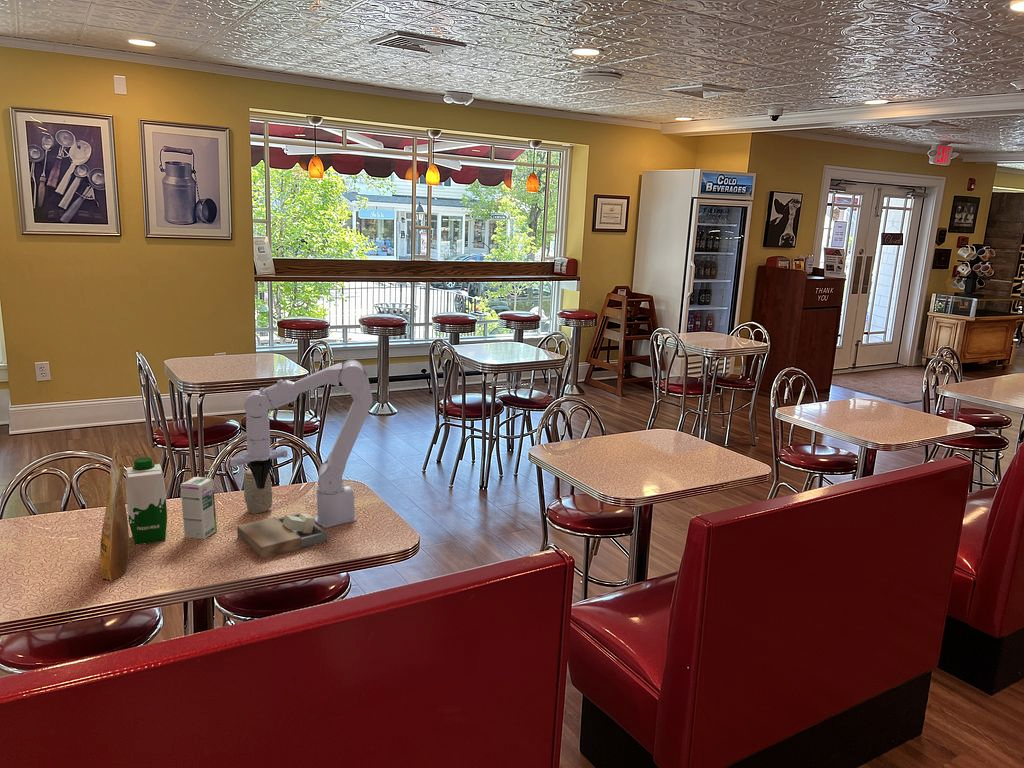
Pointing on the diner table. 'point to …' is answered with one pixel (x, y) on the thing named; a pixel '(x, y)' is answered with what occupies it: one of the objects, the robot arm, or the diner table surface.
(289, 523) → the tile
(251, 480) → the carving
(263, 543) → the board
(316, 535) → the box
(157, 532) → the milk carton
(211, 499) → the syrup box
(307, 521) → the tile
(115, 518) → the pancake mix bag
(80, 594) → the diner table surface
